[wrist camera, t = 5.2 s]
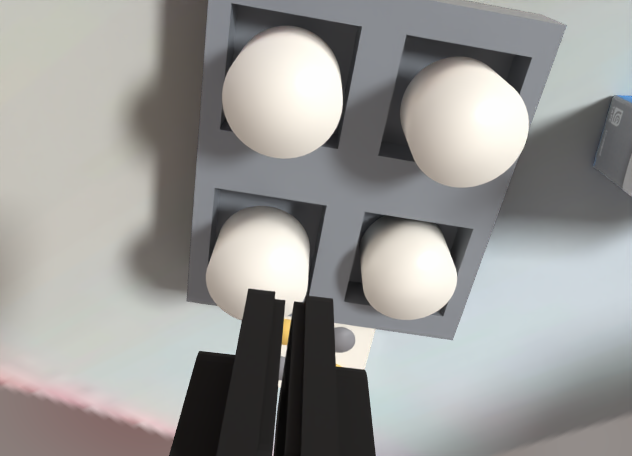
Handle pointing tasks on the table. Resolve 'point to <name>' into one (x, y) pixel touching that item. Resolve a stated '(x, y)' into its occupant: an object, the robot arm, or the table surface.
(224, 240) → the button
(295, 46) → the button
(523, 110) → the button
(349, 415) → the robot arm
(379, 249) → the button
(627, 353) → the table surface
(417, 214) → the button board
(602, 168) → the label tape box
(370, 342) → the pattern card
